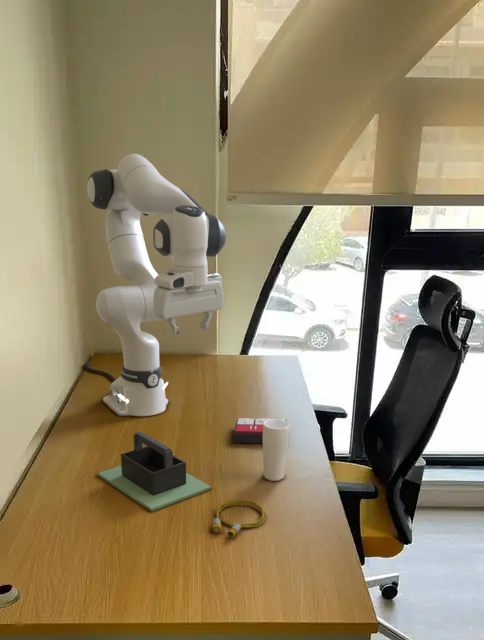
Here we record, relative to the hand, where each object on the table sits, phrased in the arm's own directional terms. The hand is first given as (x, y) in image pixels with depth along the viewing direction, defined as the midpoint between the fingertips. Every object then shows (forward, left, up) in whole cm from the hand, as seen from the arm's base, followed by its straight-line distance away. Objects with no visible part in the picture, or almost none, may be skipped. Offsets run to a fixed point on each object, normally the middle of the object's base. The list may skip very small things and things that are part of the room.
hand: (190, 331), depth 177 cm
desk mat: (+9, -19, -34) cm, 40 cm away
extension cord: (+36, -15, -34) cm, 52 cm away
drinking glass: (+26, +7, -34) cm, 44 cm away
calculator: (+5, +22, -34) cm, 41 cm away
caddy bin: (+9, -19, -33) cm, 39 cm away
